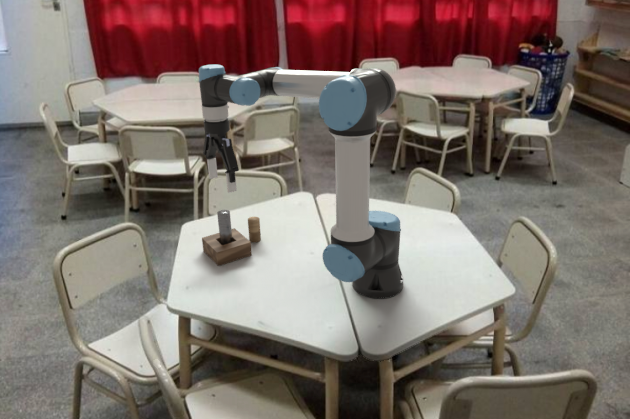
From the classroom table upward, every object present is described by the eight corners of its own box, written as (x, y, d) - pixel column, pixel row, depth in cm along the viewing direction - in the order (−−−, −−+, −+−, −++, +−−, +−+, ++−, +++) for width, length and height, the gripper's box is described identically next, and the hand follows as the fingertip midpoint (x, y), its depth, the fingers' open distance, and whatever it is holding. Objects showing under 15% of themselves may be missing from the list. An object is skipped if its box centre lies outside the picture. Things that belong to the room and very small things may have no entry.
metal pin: (235, 251, 182) (231, 212, 176) (224, 254, 180) (220, 216, 174) (230, 246, 185) (226, 208, 179) (219, 249, 183) (215, 211, 177)
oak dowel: (262, 240, 191) (261, 219, 187) (252, 243, 189) (251, 222, 185) (257, 235, 194) (256, 215, 190) (247, 239, 192) (245, 218, 188)
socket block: (251, 255, 182) (250, 242, 179) (218, 266, 176) (216, 252, 173) (235, 241, 191) (234, 228, 188) (203, 250, 185) (201, 237, 183)
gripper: (246, 125, 156) (251, 194, 165) (210, 107, 175) (216, 170, 184) (222, 130, 152) (229, 200, 161) (188, 111, 171) (195, 175, 180)
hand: (222, 184), depth 173 cm, fingers open, 13 cm apart
